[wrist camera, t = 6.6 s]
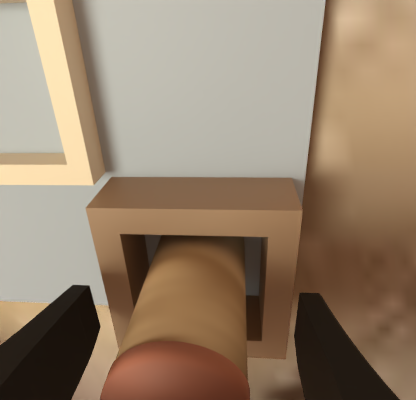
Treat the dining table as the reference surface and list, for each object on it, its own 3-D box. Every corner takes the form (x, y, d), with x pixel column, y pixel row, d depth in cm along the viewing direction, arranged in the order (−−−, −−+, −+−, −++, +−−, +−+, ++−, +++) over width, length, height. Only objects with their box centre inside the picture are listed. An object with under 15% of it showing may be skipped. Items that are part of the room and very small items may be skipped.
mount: (5, 287, 18) (-44, 341, 15) (-126, -23, 11) (-262, -40, 8) (287, 297, 17) (297, 359, 13) (323, -48, 10) (360, -80, 7)
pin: (169, 280, 15) (123, 452, 9) (151, 211, 14) (80, 365, 8) (249, 275, 15) (256, 454, 9) (240, 203, 13) (242, 362, 7)
